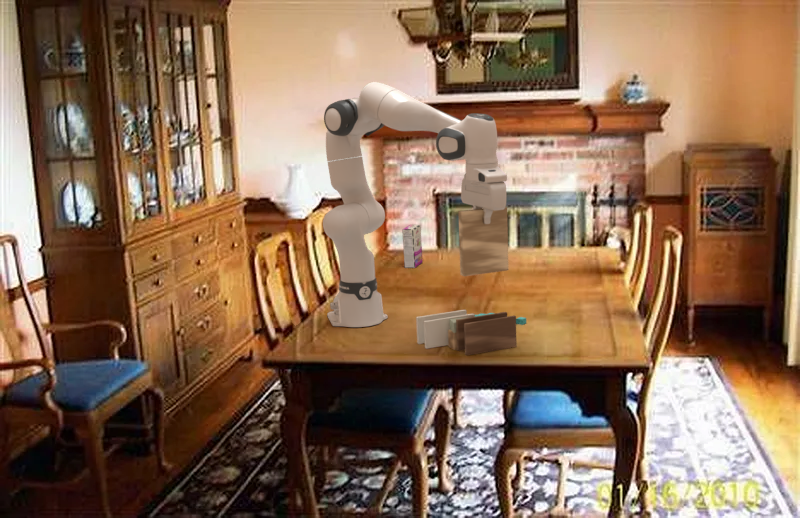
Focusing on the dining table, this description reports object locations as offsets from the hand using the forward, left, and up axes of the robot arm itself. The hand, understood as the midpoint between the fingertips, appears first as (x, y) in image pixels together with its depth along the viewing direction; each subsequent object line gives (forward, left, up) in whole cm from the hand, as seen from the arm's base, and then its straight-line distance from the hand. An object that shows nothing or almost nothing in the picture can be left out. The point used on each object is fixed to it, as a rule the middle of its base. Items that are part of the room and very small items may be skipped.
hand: (483, 222), depth 255 cm
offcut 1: (-6, -5, -31) cm, 32 cm away
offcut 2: (-5, -5, -36) cm, 37 cm away
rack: (0, 0, -36) cm, 36 cm away
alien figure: (-21, +10, -37) cm, 44 cm away
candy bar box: (-120, +30, -37) cm, 129 cm away
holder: (-12, -7, -36) cm, 39 cm away
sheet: (0, 0, -14) cm, 14 cm away
